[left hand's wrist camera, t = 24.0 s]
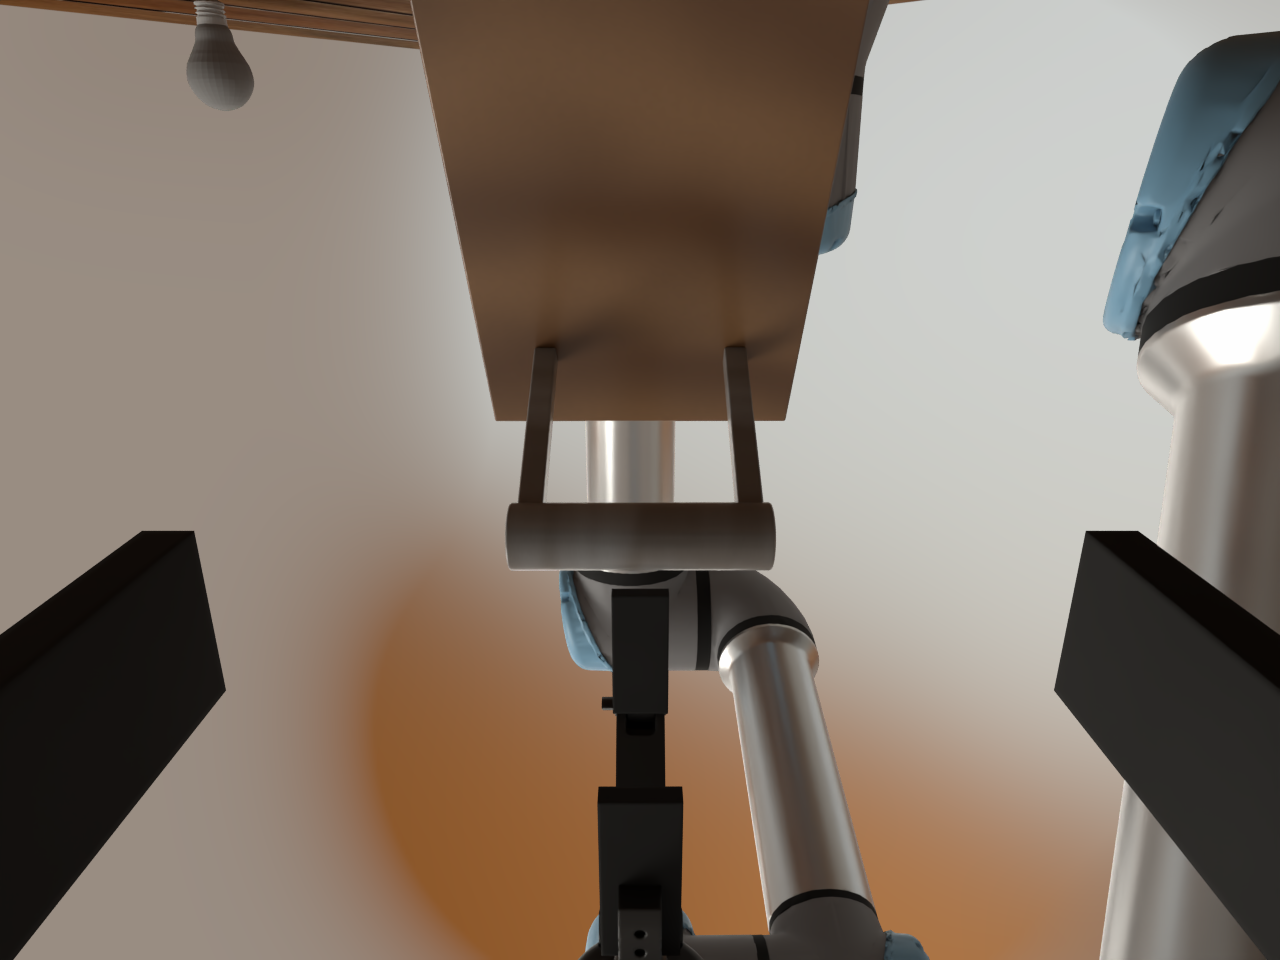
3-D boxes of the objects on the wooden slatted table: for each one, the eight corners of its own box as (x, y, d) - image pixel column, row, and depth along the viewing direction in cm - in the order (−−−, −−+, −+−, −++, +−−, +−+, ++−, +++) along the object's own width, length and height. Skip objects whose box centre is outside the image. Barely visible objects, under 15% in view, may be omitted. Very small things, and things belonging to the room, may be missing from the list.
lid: (782, 400, 30) (813, 623, 25) (498, 400, 30) (466, 623, 25) (882, -123, 18) (991, 96, 12) (396, -122, 18) (288, 97, 12)
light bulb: (227, -9, 79) (244, 108, 82) (251, 3, 85) (266, 112, 88) (161, -9, 79) (181, 108, 82) (189, 2, 84) (207, 112, 88)
